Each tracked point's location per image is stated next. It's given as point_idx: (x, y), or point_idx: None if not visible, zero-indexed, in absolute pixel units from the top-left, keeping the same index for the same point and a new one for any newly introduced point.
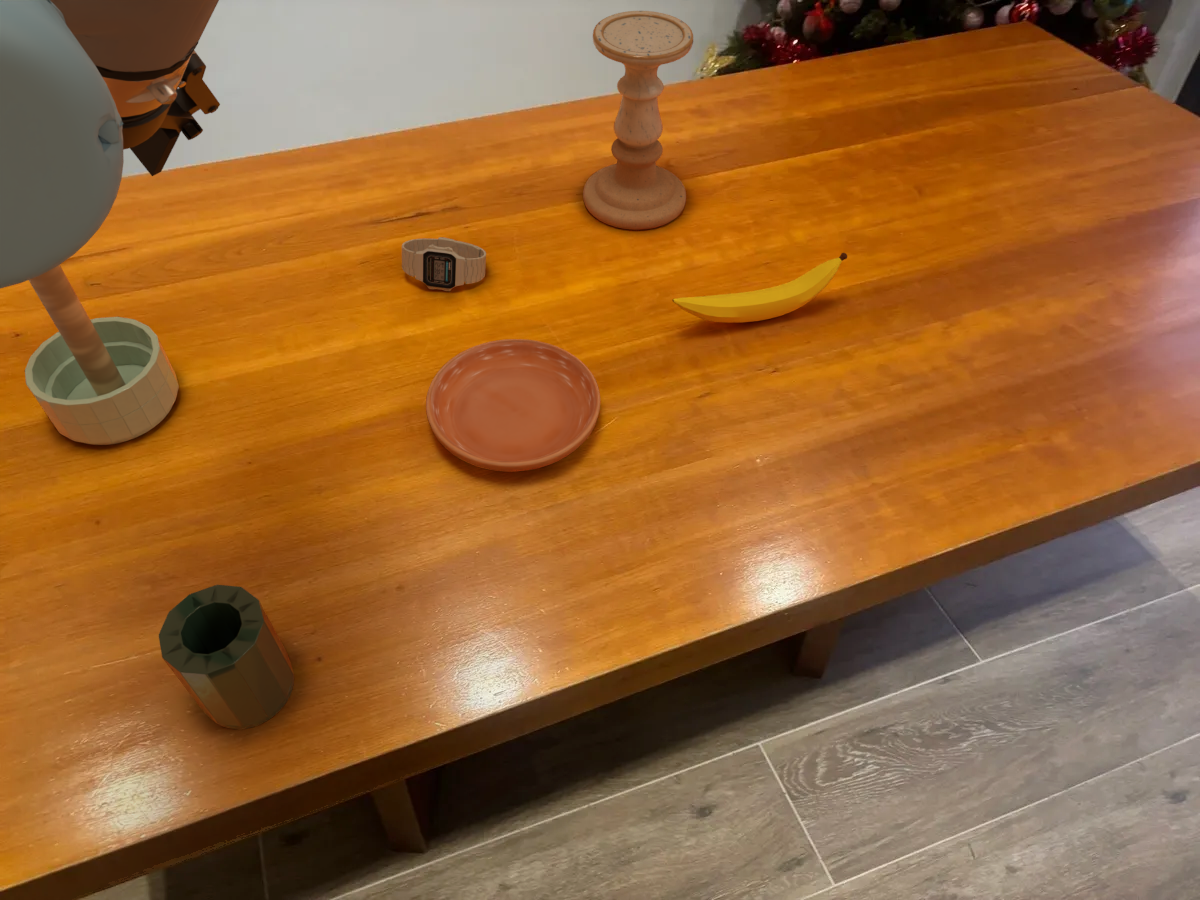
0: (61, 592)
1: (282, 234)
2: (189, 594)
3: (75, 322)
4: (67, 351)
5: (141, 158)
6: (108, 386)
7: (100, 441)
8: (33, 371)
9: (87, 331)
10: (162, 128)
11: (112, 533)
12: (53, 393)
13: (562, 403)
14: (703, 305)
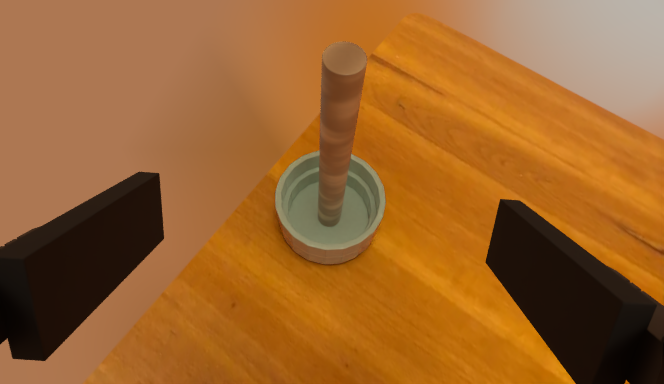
0: (168, 339)
1: (544, 173)
2: None
3: (330, 185)
4: None
5: (497, 240)
6: (325, 216)
7: (289, 244)
8: (294, 168)
9: (335, 192)
10: (598, 370)
11: (230, 324)
12: (297, 185)
13: None
14: None
